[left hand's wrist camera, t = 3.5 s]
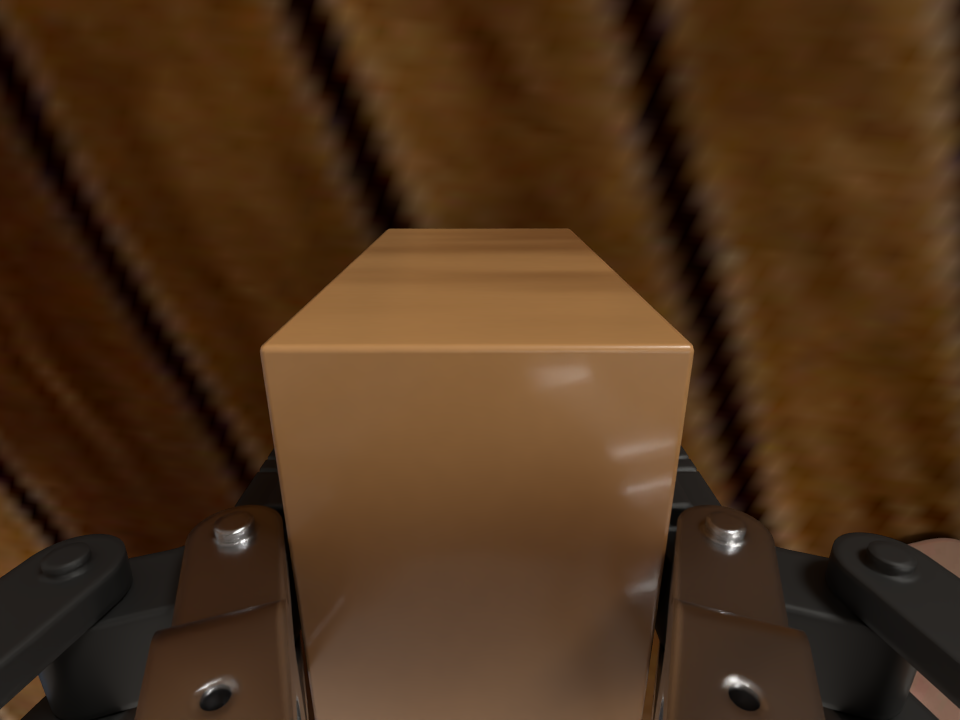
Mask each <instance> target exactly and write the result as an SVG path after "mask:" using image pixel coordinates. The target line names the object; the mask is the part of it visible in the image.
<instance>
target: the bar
mask: <svg viewBox="0 0 960 720" xmlns="http://www.w3.org/2000/svg"><path fill="white" fill-rule="evenodd" d="M260 355H261V362H262V368H263V375H264V382H265V388H266V395H267V402H268V408H269V415H270V422H271V428H272V435H273V442H274V449H275V455H276V462H277V469H278V475H279V482H280V489H281V495H282V502H283V509H284V516H285V522H286V529H287V536H288V542H289V549H290V556H291V562H292V569H293V576H294V582H295V589H296V596H297V603H298V609H299V616H300V623H301V629H302V636H303V643H304V649H305V656H306V663H307V669H308V676H309V683H310V690H311V696H312V703H313V710H314V716H315V720H642V714H643V707H644V700H645V692H646V685H647V678H648V671H649V664H650V657H651V650H652V643H653V636H654V629H655V622H656V615H657V608H658V601H659V594H660V587H661V580H662V573H663V566H664V559H665V552H666V545H667V538H668V531H669V524H670V517H671V510H672V503H673V496H674V489H675V481H676V474H677V467H678V460H679V453H680V446H681V439H682V432H683V425H684V418H685V411H686V404H687V397H688V390H689V383H690V376H691V369H692V362H693V355H694V348H693V345H692V344H691V343H690V342H689V341H688V340H687V339H685V338H684V337H683V336H682V335H681V334H680V333H679V332H678V331H677V330H676V329H675V328H674V327H673V326H672V325H671V324H670V323H669V322H667V321H666V320H665V319H664V318H663V317H662V316H661V315H660V314H659V313H658V312H657V311H656V310H655V309H654V308H653V307H652V306H651V305H649V304H648V303H647V302H646V301H645V300H644V299H643V298H642V297H641V296H640V295H639V294H638V293H637V292H636V291H635V290H634V289H633V288H631V287H630V286H629V285H628V284H627V283H626V282H625V281H624V280H623V279H622V278H621V277H620V276H619V275H618V274H617V273H616V272H615V271H613V270H612V269H611V268H610V267H609V266H608V265H607V264H606V263H605V262H604V261H603V260H602V259H601V258H600V257H599V256H598V255H597V254H595V253H594V252H593V251H592V250H591V249H590V248H589V247H588V246H587V245H586V244H585V243H584V242H583V241H582V240H581V239H580V238H579V237H577V236H576V235H575V234H574V233H573V232H572V231H571V230H570V229H388V230H387V231H385V232H384V233H383V234H382V235H381V236H380V237H379V238H378V239H377V240H376V241H375V242H374V243H372V244H371V245H370V246H369V247H368V248H367V249H366V250H365V251H364V252H363V253H362V254H361V255H359V256H358V257H357V258H356V259H355V260H354V261H353V262H352V263H351V264H350V265H349V266H347V267H346V268H345V269H344V270H343V271H342V272H341V273H340V274H339V275H338V276H337V277H336V278H334V279H333V280H332V281H331V282H330V283H329V284H328V285H327V286H326V287H325V288H324V289H323V290H321V291H320V292H319V293H318V294H317V295H316V296H315V297H314V298H313V299H312V300H311V301H310V302H308V303H307V304H306V305H305V306H304V307H303V308H302V309H301V310H300V311H299V312H298V313H297V314H295V315H294V316H293V317H292V318H291V319H290V320H289V321H288V322H287V323H286V324H285V325H283V326H282V327H281V328H280V329H279V330H278V331H277V332H276V333H275V334H274V335H273V336H272V337H270V338H269V339H268V340H267V341H266V342H265V343H264V344H263V345H262V346H261V349H260Z"/></svg>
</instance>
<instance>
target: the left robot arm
mask: <svg viewBox="0 0 960 720" xmlns="http://www.w3.org/2000/svg"><path fill="white" fill-rule="evenodd" d="M655 629H656V632H657V635H658V637H659V647H658V654H657V665H656V676H655V686H654V697H653V708H652V718H651V720H939V719H938V718H937V717H936V716H935V715H934V714H933V713H932V712H931V711H930V710H929V709H928V708H927V707H926V706H925V705H923V704H922V703H921V702H920V701H919V700H918V699H917V698H916V697H915V696H914V695H913V694H912V693H911V692H910V688H911V685H912V683H913V680H914V677H915V675H916V672H917V671H918V672H919V673H920V674H921V675H923V676H924V677H925V678H926V679H927V680H928V681H929V682H930V683H931V684H933V685H934V686H935V687H936V688H937V689H938V690H939V691H940V692H941V693H942V694H944V695H945V696H946V697H947V698H948V699H949V700H950V701H951V702H952V703H953V704H955V705H956V706H957V707H958V708H959V709H960V578H959V577H957V576H956V575H955V574H953V573H952V572H950V571H949V570H947V569H946V568H945V567H943V566H942V565H940V564H939V563H937V562H936V561H934V560H933V559H932V558H930V557H929V556H927V555H926V554H924V553H922V552H921V551H919V550H917V549H915V548H914V547H912V546H910V545H907V544H905V543H903V542H900V541H898V540H895V539H892V538H889V537H885V536H882V535H877V534H871V533H848V534H844V535H842V536H840V537H838V538H837V539H836V540H835V541H834V543H833V546H832V550H831V554H830V557H829V558H826V557H821V556H816V555H811V554H807V553H802V552H797V551H792V550H787V549H783V548H779V547H776V546H775V543H774V540H773V537H772V535H771V533H770V532H769V531H768V529H767V528H766V527H765V526H764V525H763V524H761V523H760V522H759V521H757V520H756V519H754V518H753V517H751V516H749V515H747V514H745V513H743V512H740V511H738V510H735V509H732V508H728V507H724V506H721V505H720V503H719V502H718V500H717V499H716V497H715V496H714V494H713V493H712V491H711V490H710V488H709V487H708V485H707V484H706V482H705V481H704V479H703V478H702V476H701V475H700V473H699V472H698V471H696V467H695V466H694V464H693V463H692V461H691V460H690V459H688V455H687V454H686V452H685V451H684V449H683V448H682V446H680V453H679V460H678V467H677V474H676V481H675V489H674V496H673V503H672V510H671V517H670V524H669V531H668V538H667V545H666V552H665V559H664V566H663V573H662V580H661V587H660V594H659V601H658V608H657V615H656V622H655ZM300 630H301V623H300V616H299V609H298V603H297V596H296V589H295V582H294V576H293V569H292V562H291V556H290V549H289V542H288V536H287V529H286V522H285V516H284V509H283V502H282V495H281V489H280V482H279V475H278V469H277V462H276V455H275V449H273V451H272V452H271V453H270V455H269V456H268V460H266V461H265V462H264V464H263V465H262V467H261V468H260V472H258V473H257V474H256V476H255V477H254V479H253V480H252V482H251V483H250V485H249V486H248V487H247V489H246V490H245V492H244V493H243V495H242V496H241V498H240V499H239V501H238V502H237V504H236V505H235V507H232V508H228V509H225V510H222V511H220V512H217V513H215V514H213V515H211V516H209V517H207V518H206V519H204V520H203V521H201V522H200V523H199V524H197V525H196V526H195V527H194V528H193V529H192V531H191V532H190V533H189V535H188V537H187V540H186V543H185V546H182V547H179V548H176V549H172V550H168V551H163V552H158V553H153V554H149V555H144V556H139V557H134V558H129V559H128V556H127V552H126V548H125V545H124V543H123V542H122V541H121V540H120V539H119V538H117V537H115V536H112V535H106V534H92V535H84V536H79V537H75V538H71V539H68V540H64V541H62V542H59V543H56V544H54V545H52V546H49V547H47V548H45V549H43V550H42V551H40V552H38V553H36V554H35V555H33V556H31V557H30V558H28V559H27V560H26V561H24V562H23V563H21V564H20V565H18V566H17V567H15V568H14V569H13V570H11V571H10V572H8V573H7V574H5V575H4V576H3V577H1V578H0V709H1V708H2V707H3V706H4V705H5V704H7V703H8V702H9V701H10V700H11V699H12V698H13V697H14V696H15V695H16V694H18V693H19V692H20V691H21V690H22V689H23V688H24V687H25V686H26V685H27V684H29V683H30V682H31V681H32V680H33V679H34V678H35V677H36V676H37V675H38V676H39V678H40V681H41V683H42V686H43V689H44V691H45V694H46V696H45V697H44V698H43V699H42V700H41V701H40V702H39V703H38V704H36V705H35V706H34V707H33V708H32V709H31V710H30V711H29V712H28V713H27V714H26V715H25V716H24V717H23V718H22V719H21V720H309V718H308V708H307V697H306V686H305V676H304V665H303V654H302V647H301V640H300V634H299V632H300Z"/></svg>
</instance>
